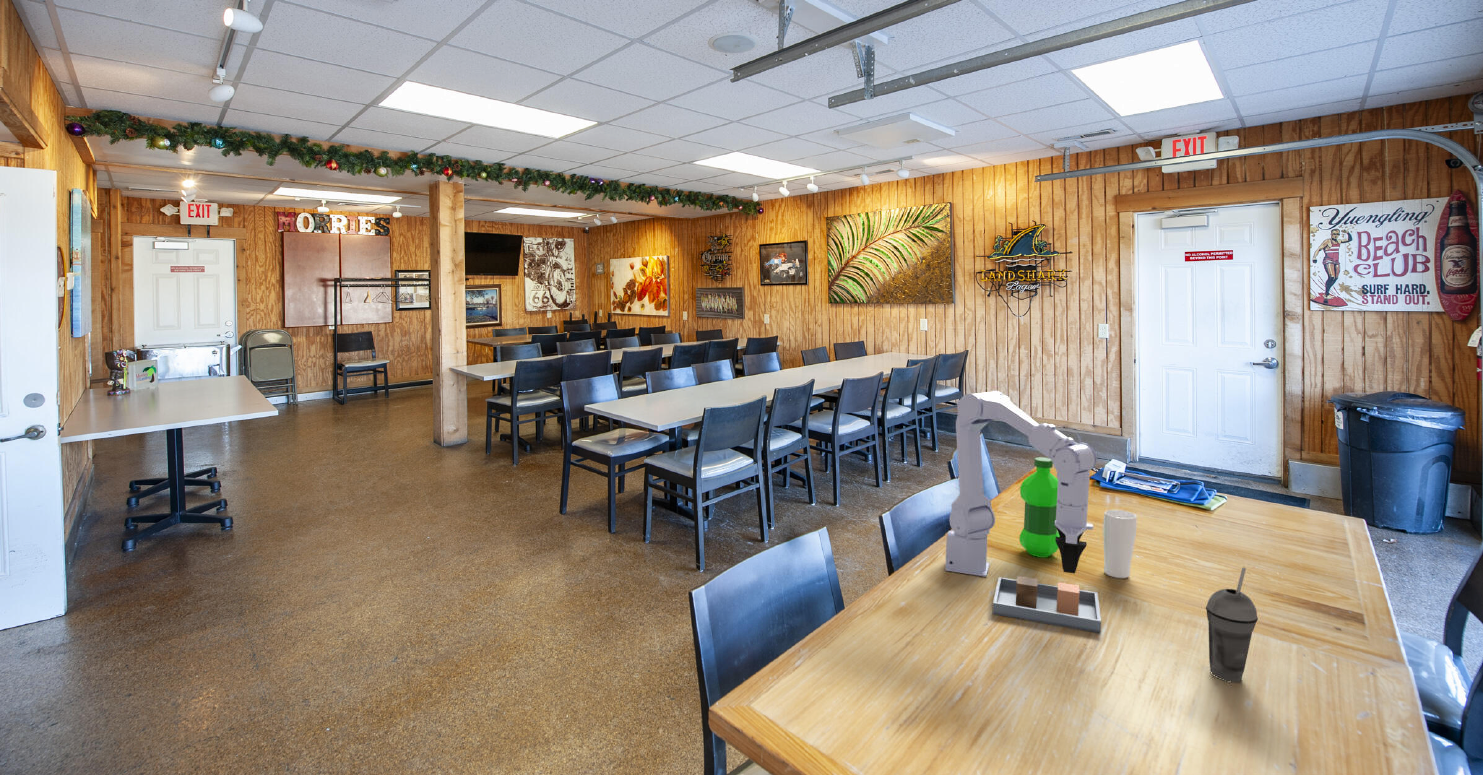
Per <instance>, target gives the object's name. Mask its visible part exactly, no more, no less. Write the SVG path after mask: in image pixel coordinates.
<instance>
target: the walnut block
mask: <svg viewBox="0 0 1483 775" xmlns="http://www.w3.org/2000/svg"><path fill="white" fill-rule="evenodd" d="M1016 580H1017V588H1016V606H1022V607H1028V608H1034V609H1036V604H1037V585H1038V583H1039V582H1038V580H1039V579H1038V578H1032V577H1027V576H1019V575H1018V576H1017V579H1016Z"/></svg>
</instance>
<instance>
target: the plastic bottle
mask: <svg viewBox="0 0 1483 775" xmlns="http://www.w3.org/2000/svg"><path fill="white" fill-rule="evenodd" d="M1033 465H1034V467H1036V471H1035V472H1034V473H1032V474H1030V475H1029V476H1027V477H1026V478H1025V479H1024V480H1023V481H1022V483H1021V485H1020V487H1019V489H1020V490H1019V494H1020V497H1021V499H1022V500H1023V501H1024V518H1023V519H1024V521H1023V528H1022V530H1021V531H1020V534H1019V540H1018V541H1019V542H1020V545H1021V546H1022V547H1023V549H1025V551H1027V553H1028V554H1029V555H1031V556H1033V557H1036V556H1037V558H1048V556H1049V557H1050V556H1052V555H1053V554H1055V553H1056V552H1057V551H1058V550H1059V548H1058V546H1057V544H1056V541H1055V540H1056V537H1060V536H1059V533H1058V531H1057V528H1056V526H1055V520H1056V510H1057V492H1058V478H1057V476H1055V475H1054V474H1052V473H1051V469H1052V468H1053V467H1054V465H1053V462H1052V460H1051V459H1049V458H1048V457H1046V456H1045V457H1044V456H1043V457H1042V456H1041V457H1039V456H1038V457H1035V458H1034V463H1033Z"/></svg>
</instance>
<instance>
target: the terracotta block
mask: <svg viewBox="0 0 1483 775" xmlns="http://www.w3.org/2000/svg"><path fill="white" fill-rule="evenodd" d="M1057 586H1058V591H1057V613H1063V614H1069V615H1075V616H1078V610H1079V590H1080V585H1079V584H1070V583H1065V582H1057Z"/></svg>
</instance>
